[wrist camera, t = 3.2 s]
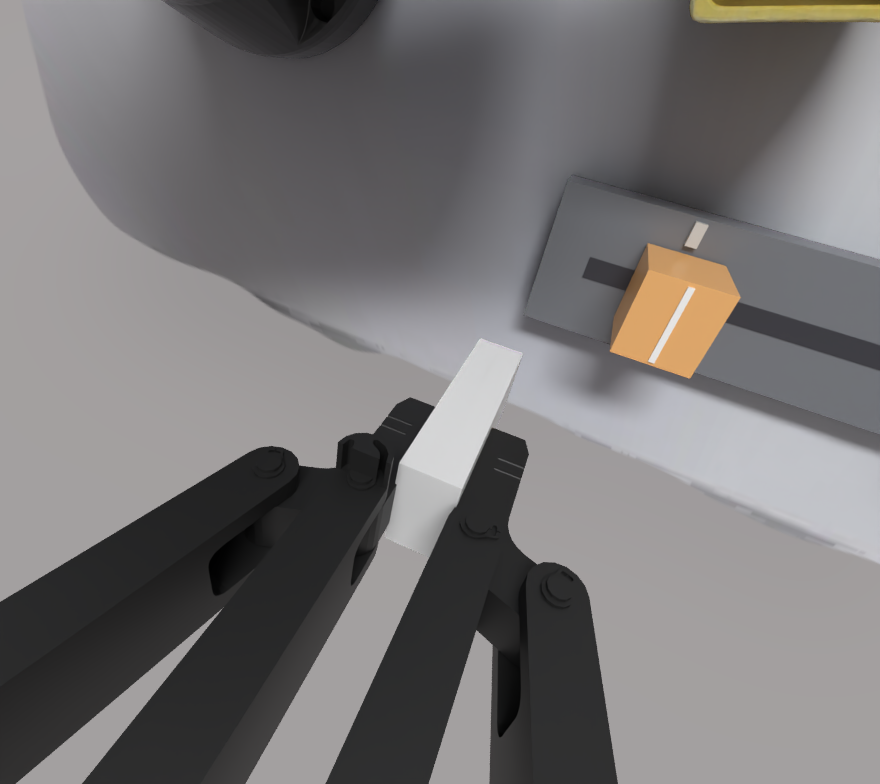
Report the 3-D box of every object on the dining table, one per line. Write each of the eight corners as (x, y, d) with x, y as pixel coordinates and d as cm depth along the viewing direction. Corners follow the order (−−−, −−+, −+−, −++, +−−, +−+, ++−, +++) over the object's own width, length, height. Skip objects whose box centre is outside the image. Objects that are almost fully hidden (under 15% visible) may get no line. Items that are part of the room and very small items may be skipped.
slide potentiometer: (529, 303, 31) (518, 325, 28) (572, 174, 26) (563, 185, 23) (970, 448, 26) (1008, 491, 24) (1118, 325, 22) (1187, 360, 19)
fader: (613, 316, 27) (609, 352, 24) (647, 242, 25) (648, 270, 21) (683, 339, 27) (690, 379, 23) (726, 265, 24) (741, 298, 20)
